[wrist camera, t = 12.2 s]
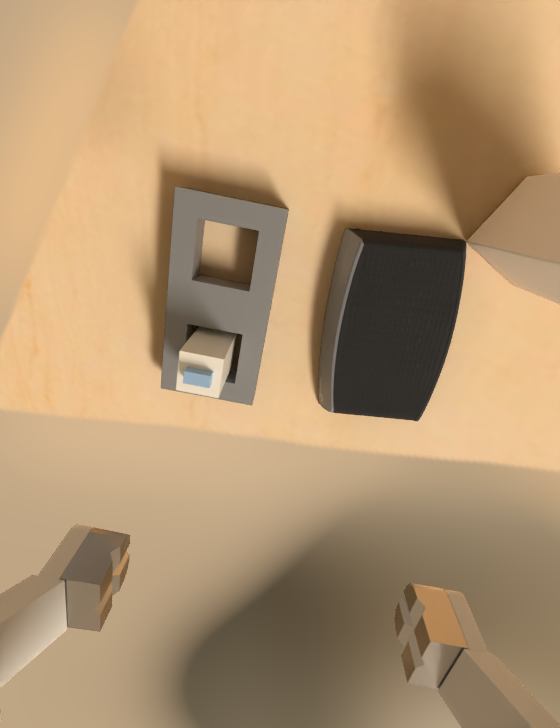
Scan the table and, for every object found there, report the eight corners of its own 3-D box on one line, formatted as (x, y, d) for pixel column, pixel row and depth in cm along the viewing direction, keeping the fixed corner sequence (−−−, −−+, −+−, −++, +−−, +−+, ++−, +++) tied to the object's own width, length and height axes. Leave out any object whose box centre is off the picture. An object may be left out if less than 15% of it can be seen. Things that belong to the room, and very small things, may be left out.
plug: (201, 323, 41) (176, 354, 33) (237, 331, 41) (222, 363, 33) (197, 357, 42) (172, 395, 34) (232, 364, 43) (216, 403, 34)
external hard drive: (311, 400, 44) (312, 418, 41) (337, 226, 37) (342, 228, 33) (422, 412, 44) (433, 432, 41) (471, 240, 37) (491, 245, 33)
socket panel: (184, 187, 36) (174, 186, 33) (288, 209, 36) (287, 209, 33) (169, 376, 44) (160, 388, 41) (255, 392, 44) (252, 405, 41)
